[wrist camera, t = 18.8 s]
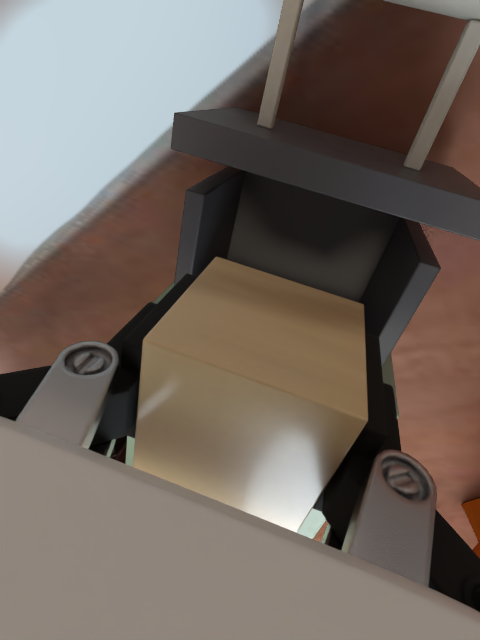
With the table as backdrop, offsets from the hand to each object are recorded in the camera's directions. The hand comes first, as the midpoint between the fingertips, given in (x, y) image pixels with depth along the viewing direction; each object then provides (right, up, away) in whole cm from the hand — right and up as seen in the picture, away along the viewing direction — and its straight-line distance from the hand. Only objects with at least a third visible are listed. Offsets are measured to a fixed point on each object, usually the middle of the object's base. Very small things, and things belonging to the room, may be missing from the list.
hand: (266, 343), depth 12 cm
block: (0, 0, 0) cm, 0 cm away
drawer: (+3, +7, +9) cm, 12 cm away
